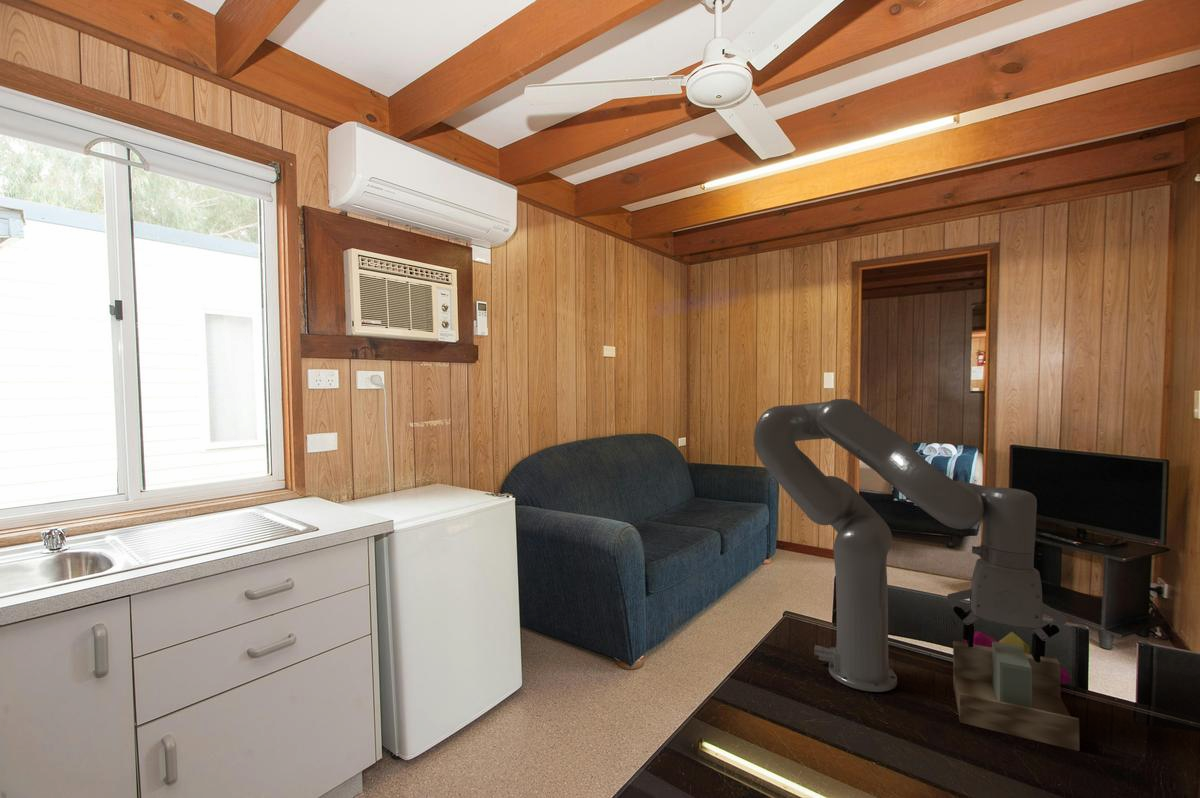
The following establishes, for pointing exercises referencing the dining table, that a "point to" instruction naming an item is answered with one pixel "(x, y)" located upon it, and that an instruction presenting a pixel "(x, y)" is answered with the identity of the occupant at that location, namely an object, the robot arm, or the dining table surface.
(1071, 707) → the dining table surface
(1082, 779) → the dining table surface
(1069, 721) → the wall board
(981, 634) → the toy
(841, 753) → the dining table surface
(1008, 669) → the cabinet block
